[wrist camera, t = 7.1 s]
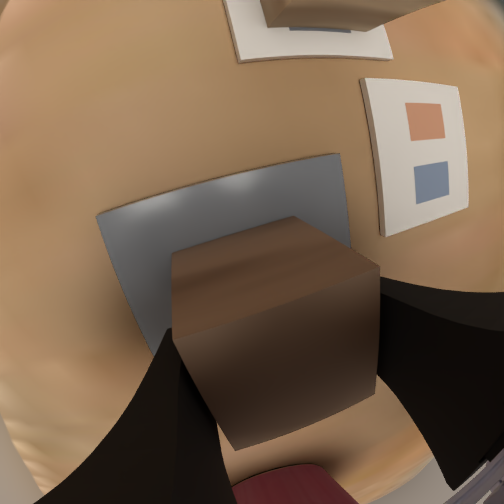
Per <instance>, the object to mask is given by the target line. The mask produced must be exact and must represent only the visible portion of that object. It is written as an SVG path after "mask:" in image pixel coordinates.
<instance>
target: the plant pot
mask: <svg viewBox="0 0 504 504" xmlns="http://www.w3.org/2000/svg"><path fill="white" fill-rule="evenodd" d="M232 490H233V493H234V496H235V498H236V501H237V504H359V503H358V502H357V501H356V500H354V499H353V498H352V497H351V496H350V495H349V494H348V493H347V492H346V491H345V490H344V489H343V488H342V487H341V486H340V485H339V484H338V483H337V482H336V481H335V480H334V479H333V478H332V477H331V476H330V475H329V474H328V473H327V472H326V471H325V470H324V469H323V468H322V467H320V466H318V465H314V464H302V465H293V466H288V467H283V468H279V469H275V470H271V471H268V472H265V473H262V474H259V475H256V476H253V477H251V478H249V479H246V480H244V481H242V482H240V483H238V484H236V485H235V486H233V487H232Z"/></svg>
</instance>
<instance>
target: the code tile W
mask: <svg viewBox="0 0 504 504" xmlns="http://www.w3.org/2000/svg"><path fill="white" fill-rule="evenodd" d="M360 85H361V89H362V94H363V98H364V103H365V109H366V114H367V119H368V125H369V131H370V137H371V144H372V150H373V158H374V166H375V174H376V183H377V193H378V205H379V219H380V235H382V236H384V237H388V236H391V235H393V234H396V233H399V232H402V231H405V230H407V229H410V228H413V227H416V226H419V225H421V224H424V223H427V222H430V221H432V220H435V219H438V218H440V217H443V216H446V215H449V214H451V213H454V212H457V211H459V210H462V209H464V208H467V207H468V166H467V151H466V140H465V131H464V123H463V116H462V109H461V103H460V98H459V92H458V87H455V86H449V85H442V84H435V83H428V82H419V81H409V80H397V79H380V78H363V79H360Z"/></svg>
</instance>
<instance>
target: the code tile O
mask: <svg viewBox="0 0 504 504" xmlns="http://www.w3.org/2000/svg"><path fill="white" fill-rule="evenodd" d="M223 3H224V7H225V10H226V14H227V18H228V22H229V26H230V30H231V35H232V39H233V43H234V47H235V51H236V55H237V59H238V63H244V62H253V61H262V60H274V59H289V58H357V59H372V60H383V61H390V60H393V55H392V51H391V48H390V44H389V41H388V38H387V34H386V31H385V28H384V25H383V24H382V25H380V26H378V27H376V28H374V29H372V30H369V31H367V32H362V31H354V30H344V29H331V28H310V27H277V28H267V24H266V20H265V17H264V13H263V10H262V6H261V3H260V0H223Z"/></svg>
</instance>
